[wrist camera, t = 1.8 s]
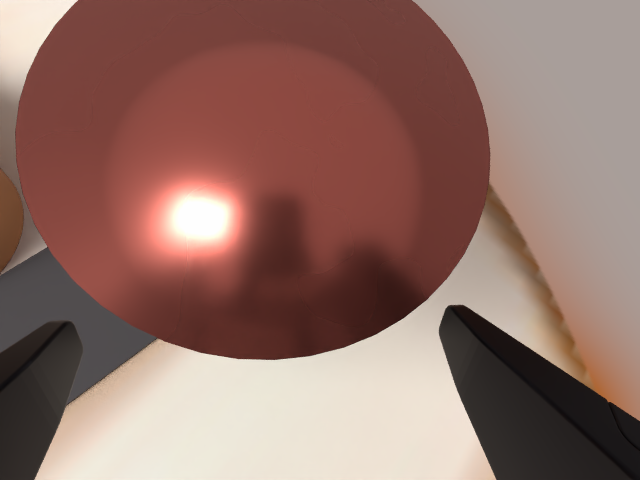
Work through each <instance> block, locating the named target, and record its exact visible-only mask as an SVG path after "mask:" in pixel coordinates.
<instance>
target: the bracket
mask: <svg viewBox="0 0 640 480" xmlns="http://www.w3.org/2000/svg"><path fill="white" fill-rule="evenodd" d="M23 219H24V216H23V207H22V202H21V199H20V196H19V193H18V191H17V189H16V187H15V186H14V184H13V183H12V181H11V180H10V179H9V178H8V177H7V175H6V174H5V173H4V172H3V171H2V170H1V169H0V272H1V271H2V270H3V269H4V268H5V266H6V265H7V263H8V262H9V261H10V259H11V257H12V256H13V254H14V252H15V250H16V248H17V246H18V243H19V240H20V237H21V234H22V229H23Z"/></svg>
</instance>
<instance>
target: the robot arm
mask: <svg viewBox="0 0 640 480" xmlns="http://www.w3.org/2000/svg"><path fill="white" fill-rule="evenodd" d="M439 336H440V339H441V342H442V346H443V349H444V352H445V355H446V358H447V361H448V364H449V367H450V370H451V373H452V376H453V380H454V383H455V385H456V388H457V391H458V393H459V396H460V398H461V401H462V403H463V405H464V407H465V410H466V412H467V414H468V416H469V419H470V421H471V423H472V425H473V428H474V430H475V432H476V435H477V437H478V439H479V441H480V444H481V446H482V448H483V450H484V453H485V455H486V457H487V459H488V462H489V464H490V466H491V469H492V471H493V473H494V475H495V478H496V480H640V421H639V420H637V419H636V418H634V417H632V416H631V415H629V414H628V413H626V412H625V411H623V410H622V409H620V408H619V407H617V406H616V405H614V404H613V403H611V402H608V401H607V400H606V399H605V398H603V397H602V396H601V395H599V394H598V393H596V392H595V391H593V390H592V389H590V388H588V387H587V386H585V385H584V384H582V383H581V382H579V381H578V380H576V379H575V378H573V377H572V376H570V375H569V374H567V373H566V372H564V371H563V370H561V369H560V368H558V367H557V366H555V365H554V364H552V363H551V362H549V361H548V360H546V359H545V358H543V357H542V356H540V355H539V354H537V353H536V352H534V351H533V350H531V349H530V348H528V347H527V346H525V345H524V344H522V343H521V342H519V341H517V340H516V339H514V338H513V337H511V336H510V335H508V334H507V333H505V332H504V331H502V330H501V329H499V328H498V327H496V326H495V325H493V324H492V323H490V322H489V321H487V320H486V319H484V318H483V317H481V316H480V315H478V314H477V313H475V312H474V311H472V310H471V309H469V308H468V307H466V306H464V305H449V306H448V307H447V308H446V309H445V312H444V315H443V318H442V321H441V324H440V327H439ZM82 355H83V344H82V341H81V339H80V337H79V334H78V332H77V330H76V327H75V325H74V323H73V322H72V321H70V320H54V321H49V322H47V323H45V324H44V325H42V326H41V327H39V328H38V329H36V330H35V331H33V332H31V333H30V334H28V335H27V336H25V337H24V338H22V339H21V340H19V341H18V342H16V343H15V344H13V345H12V346H10V347H8V348H7V349H5V350H4V351H2V352H1V353H0V480H34V479H35V477H36V475H37V473H38V471H39V468H40V466H41V464H42V462H43V460H44V457H45V455H46V453H47V451H48V449H49V446H50V444H51V442H52V440H53V437H54V435H55V433H56V431H57V428H58V426H59V424H60V421H61V418H62V416H63V413H64V410H65V407H66V404H67V401H68V398H69V395H70V392H71V389H72V386H73V383H74V380H75V377H76V374H77V371H78V368H79V365H80V362H81V358H82Z"/></svg>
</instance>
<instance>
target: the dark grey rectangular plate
mask: <svg viewBox="0 0 640 480" xmlns="http://www.w3.org/2000/svg"><path fill="white" fill-rule="evenodd" d="M54 320H70V321H72V322H73V323H74V325H75V327H76V330H77V332H78V334H79V337H80V339H81V341H82V344H83V355H82V358H81V362H80V365H79V368H78V371H77V374H76V377H75V380H74V383H73V386H72V389H71V392H70V395H69V398H68V401H67V404H66V405H68V404H69V403H70V402H72V401H73V400H74V399H76V398H77V397H78V396H80V395H81V394H82V393H84V392H85V391H86V390H88V389H89V388H91V387H92V386H93V385H95V384H96V383H97V382H99V381H100V380H101V379H103V378H104V377H105V376H107V375H108V374H110V373H111V372H112V371H114V370H115V369H116V368H118V367H119V366H120V365H122V364H123V363H124V362H126V361H127V360H128V359H130V358H131V357H133V356H134V355H135V354H137V353H138V352H139V351H141V350H142V349H143V348H145V347H146V346H147V345H149V344H150V343H151V342H153V341H154V340H156V339H157V337H155V336H152V335H150V334H148V333H146V332H144V331H142V330H140V329H138V328H136V327H133V326H131V325H130V324H128V323H127V322H125V321H124V320H122V319H121V318H119V317H118V316H116V315H115V314H113V313H112V312H110V311H109V310H107V309H106V308H104V307H103V306H101V305H100V304H99V303H98V302H97V301H96V300H95V299H93V298H92V297H91V296H90V295H89V294H88V293H87V292H86V291H85V290H83V289H82V288H81V287H80V286H79V285H78V284H77V283H76V282H75V281H74V280H73V279H72V278H71V277H70V275H69V274H68V273H67V272H66V271H65V269H64V268H63V267H62V266H61V264H60V263H59V262H58V261H57V260H56V258H55V257H54V256H53V255H52V253H51V251H50V250H49V248H48V247H47V248H45V249H44V250H42V251H40V252H39V253H37V254H35V255H34V256H32V257H30V258H29V259H27V260H25V261H24V262H22V263H20V264H19V265H17V266H15V267H14V268H12V269H10V270H9V271H7V272H6V273H4V274H2V275H1V276H0V353H1V352H2V351H4V350H5V349H7V348H8V347H10V346H12V345H13V344H15V343H16V342H18V341H19V340H21V339H22V338H24V337H25V336H27V335H28V334H30V333H31V332H33V331H35V330H36V329H38V328H39V327H41V326H42V325H44V324H45V323H47V322H49V321H54Z"/></svg>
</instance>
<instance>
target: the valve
mask: <svg viewBox="0 0 640 480" xmlns="http://www.w3.org/2000/svg"><path fill="white" fill-rule="evenodd" d="M15 136H16V161H17V167H18V172H19V177H20V182H21V187H22V191H23V195H24V198H25V200H26V203H27V206H28V208H29V211H30V213H31V216H32V219H33V221H34V224H35V226H36V228H37V229H38V231H39V233H40V234H41V236H42V238H43V239H44V241H45V243H46V245H47V246H48V248H49V250H50V251H51V253H52V255H53V256H54V257H55V258H56V260H57V261H58V262H59V263H60V264H61V266H62V267H63V268H64V269H65V271H66V272H67V273H68V274H69V275H70V277H71V278H72V279H73V280H74V281H75V282H76V283H77V284H78V285H79V286H80V287H81V288H82V289H83V290H85V291H86V292H87V293H88V294H89V295H90V296H91V297H92V298H93V299H95V300H96V301H97V302H98V303H99V304H100V305H101V306H103V307H104V308H106V309H107V310H109V311H110V312H112V313H113V314H115V315H116V316H118V317H119V318H121V319H122V320H124V321H125V322H127V323H128V324H130V325H131V326H133V327H136V328H138V329H140V330H142V331H144V332H146V333H148V334H150V335H152V336H155V337H157V338H159V339H161V340H163V341H165V342H168V343H171V344H175V345H178V346H181V347H184V348H187V349H191V350H194V351H197V352H200V353H205V354H211V355H217V356H224V357H230V358H236V359H261V360H278V359H287V358H296V357H305V356H312V355H316V354H320V353H324V352H328V351H332V350H336V349H340V348H344V347H346V346H349V345H351V344H354V343H356V342H359V341H361V340H364V339H366V338H368V337H371V336H373V335H376V334H377V333H379V332H381V331H382V330H384V329H386V328H388V327H389V326H391V325H393V324H395V323H396V322H398V321H400V320H401V319H403V318H404V317H406V316H407V315H408V314H409V313H411V312H412V311H413V310H414V309H416V308H417V307H418V306H420V305H421V304H422V303H423V302H425V301H426V300H427V299H428V298H429V297H430V296H431V295H432V294H433V293H434V292H435V291H436V290H437V289H438V287H439V286H440V285H441V284H442V283H443V282H444V281H445V280H446V279H447V278H448V276H449V275H450V274H451V272H452V271H453V269H454V268H455V267H456V265H457V264H458V262H459V261H460V259H461V258H462V257H463V255H464V253H465V251H466V249H467V247H468V245H469V243H470V241H471V239H472V237H473V235H474V233H475V232H476V229H477V226H478V223H479V220H480V217H481V214H482V211H483V208H484V205H485V200H486V194H487V189H488V183H489V172H490V171H489V170H490V147H489V136H488V128H487V123H486V119H485V114H484V110H483V106H482V103H481V100H480V97H479V95H478V92H477V89H476V86H475V84H474V81H473V79H472V77H471V75H470V73H469V71H468V69H467V67H466V65H465V64H464V62H463V60H462V58H461V57H460V55H459V54H458V53H457V51H456V49H455V47H454V46H453V44H452V43H451V41H450V40H449V39H448V37H447V36H446V35H445V34H444V33H443V31H442V30H441V29H440V28H439V27H438V26H437V25H436V23H435V22H434V21H433V20H432V19H431V18H430V17H429V16H428V15H427V14H426V13H425V12H424V11H423V10H422V9H421V8H420V7H419V6H418V5H417V4H416V3H415V2H413V1H412V0H78V1H77V2H76V3H75V4H74V5H73V6H72V7H71V8H70V9H69V10H68V11H67V12H66V14H65V15H64V16H63V17H62V18H61V19H60V20H59V21H58V22H57V24H56V25H55V26H54V28H53V29H52V31H51V32H50V34H49V35H48V37H47V38H46V40H45V41H44V43H43V44H42V45H41V47H40V49H39V51H38V53H37V55H36V57H35V59H34V61H33V63H32V65H31V68H30V70H29V72H28V74H27V77H26V81H25V84H24V87H23V91H22V94H21V98H20V101H19V107H18V115H17V123H16V131H15Z"/></svg>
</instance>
